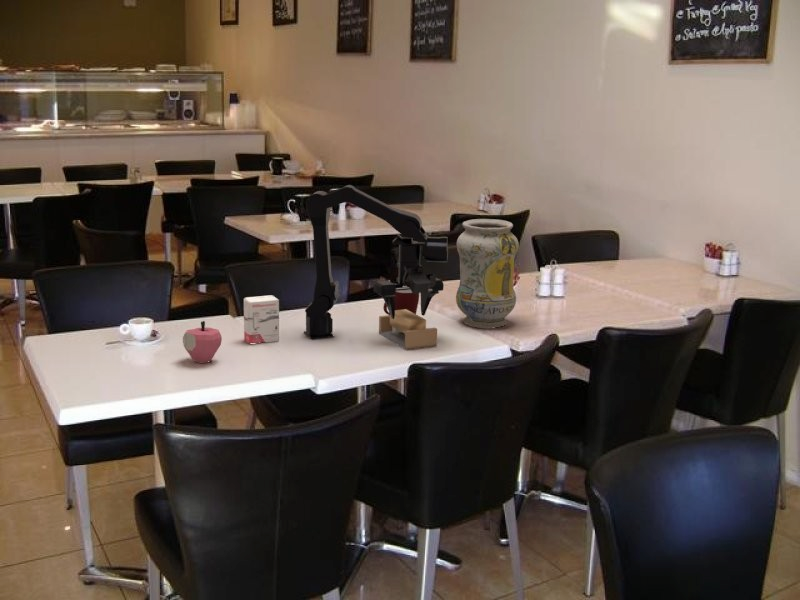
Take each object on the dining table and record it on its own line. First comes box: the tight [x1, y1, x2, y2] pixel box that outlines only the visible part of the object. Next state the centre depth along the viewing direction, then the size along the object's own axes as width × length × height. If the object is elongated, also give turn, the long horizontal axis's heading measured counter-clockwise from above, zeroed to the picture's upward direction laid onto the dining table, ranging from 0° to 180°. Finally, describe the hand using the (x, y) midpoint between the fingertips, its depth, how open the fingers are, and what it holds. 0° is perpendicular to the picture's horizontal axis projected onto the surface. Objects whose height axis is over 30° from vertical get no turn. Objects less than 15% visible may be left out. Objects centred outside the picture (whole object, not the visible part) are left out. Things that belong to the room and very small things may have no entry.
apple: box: [182, 320, 223, 363], centre depth 223 cm, size 10×9×10 cm
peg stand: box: [378, 314, 438, 351], centre depth 246 cm, size 9×17×5 cm, turn 26°
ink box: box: [243, 294, 280, 344], centre depth 242 cm, size 9×5×12 cm, turn 118°
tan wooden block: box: [390, 309, 427, 333], centre depth 246 cm, size 5×12×4 cm, turn 26°
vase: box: [455, 218, 520, 330], centre depth 262 cm, size 18×18×30 cm
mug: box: [383, 289, 420, 315], centre depth 262 cm, size 10×8×10 cm
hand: (408, 316), depth 245 cm, fingers open, 9 cm apart
